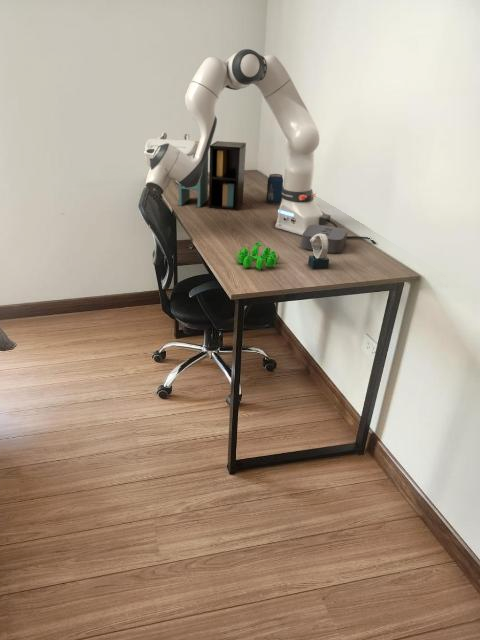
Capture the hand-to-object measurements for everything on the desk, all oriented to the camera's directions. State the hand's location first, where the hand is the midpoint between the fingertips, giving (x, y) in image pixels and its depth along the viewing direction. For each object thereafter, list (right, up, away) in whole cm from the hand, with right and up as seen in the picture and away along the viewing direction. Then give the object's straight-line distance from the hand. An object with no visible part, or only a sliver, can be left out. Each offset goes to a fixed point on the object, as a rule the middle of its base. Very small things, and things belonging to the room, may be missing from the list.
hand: (176, 134), depth 212 cm
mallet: (+5, 0, +19) cm, 19 cm away
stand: (+7, -15, +36) cm, 39 cm away
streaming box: (+55, -47, -12) cm, 74 cm away
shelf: (+22, -17, +32) cm, 42 cm away
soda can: (+44, -14, +37) cm, 59 cm away
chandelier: (+29, -57, -27) cm, 69 cm away
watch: (+49, -58, -29) cm, 82 cm away
